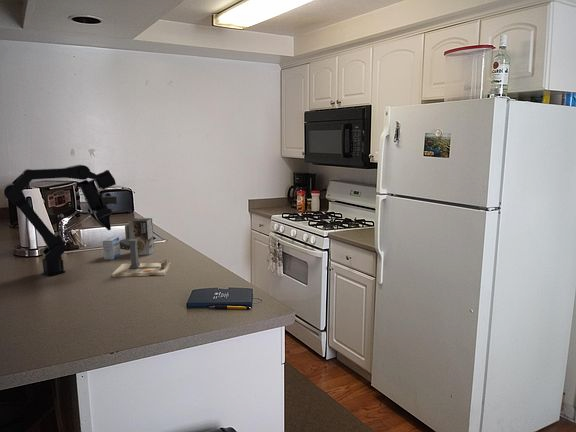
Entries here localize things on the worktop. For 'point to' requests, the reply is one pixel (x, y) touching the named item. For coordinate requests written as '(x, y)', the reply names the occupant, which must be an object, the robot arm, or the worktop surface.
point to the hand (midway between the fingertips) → (106, 228)
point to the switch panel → (142, 269)
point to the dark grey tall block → (134, 253)
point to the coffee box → (142, 234)
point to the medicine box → (111, 248)
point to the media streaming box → (125, 243)
